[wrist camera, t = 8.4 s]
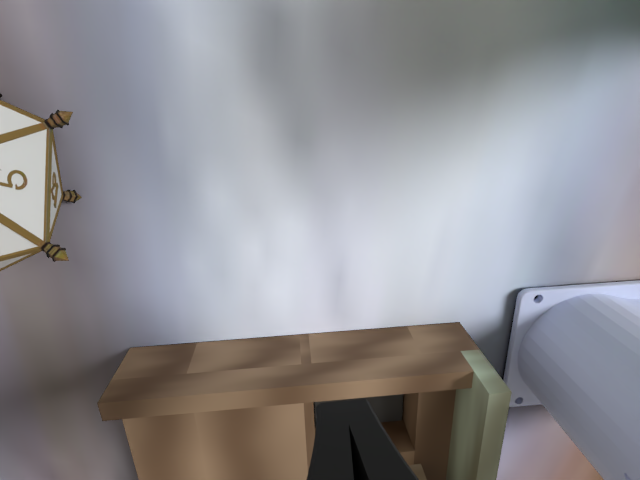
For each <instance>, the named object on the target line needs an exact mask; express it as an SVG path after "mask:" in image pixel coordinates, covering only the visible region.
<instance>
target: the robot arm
mask: <svg viewBox="0 0 640 480" xmlns="http://www.w3.org/2000/svg"><path fill="white" fill-rule="evenodd" d="M536 295H538V297H537V298H536V299H534V297H535V296H536ZM503 381H504V382H505V384H506V385H507V386H508V388H509V389H510V390H511V392H512V393H511V398H510V404H509V407H518V406H529V405H540V404H543V406H544V407H545V408H546V409H547V411H548V412H549V413H550V414H551V415H552V417H553V418H554V419H555V420H556V422H557V423H558V424H559V425H560V426H561V428H562V429H563V430H564V431H565V433H566V434H567V435H568V436H569V437H570V439H571V440H572V441H573V442H574V444H575V445H576V446H577V447H578V448H579V450H580V451H581V452H582V453H583V455H584V456H585V457H586V458H587V459H588V461H589V462H590V463H591V464H592V466H593V467H594V468H595V469H596V470H597V472H598V473H599V474H600V475H601V477H602V478H603V479H604V480H640V280H636V281H622V282H609V283H595V284H581V285H567V286H553V287H540V288H527V289H523V290H522V291H520V292H519V294H518V296H517V300H516V306H515V312H514V318H513V324H512V331H511V337H510V343H509V349H508V355H507V361H506V367H505V373H504V379H503ZM316 416H317V418H316V432H315V439H314V446H313V452H312V457H311V461H310V466H309V471H308V476H307V480H419V479H418V478H417V476H416V475H415V474H414V472H413V471H412V470H411V468H410V467H409V465H408V464H407V462H406V461H405V460H404V458H403V457H402V455H401V454H400V452H399V451H398V450H397V448H396V447H395V445H394V444H393V442H392V440H391V439H390V437H389V436H388V434H387V432H386V431H385V429H384V428H383V426H382V424H381V423H380V421H379V419H378V417H377V416H376V414H375V412H374V410H373V408H372V406H371V404H370V402H369V401H367V400H366V399H360V400H349V401H337V402H326V403H320V404H319V405H318V406H316Z"/></svg>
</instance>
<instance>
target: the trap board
mask: <svg viewBox="0 0 640 480" xmlns="http://www.w3.org/2000/svg"><path fill="white" fill-rule="evenodd" d="M511 393H512V392H511V390H510V389H509V388H508V386H507V385H506V384H505V382H504V381H503V380H502V378H501V377H500V376H499V374H498V373H497V372H496V370H495V369H494V368H493V366H492V365H491V364H490V362H489V361H488V360H487V358H486V357H485V356H484V354H483V353H482V352H481V350H480V349H479V348H478V346H477V345H476V344H475V342H474V341H473V340H472V338H471V337H470V336H469V334H468V333H467V332H466V330H465V329H464V328H463V326H462V325H461V324H460V322H456V323H443V324H430V325H417V326H404V327H392V328H379V329H366V330H353V331H340V332H327V333H314V334H301V335H288V336H275V337H263V338H250V339H237V340H224V341H211V342H198V343H185V344H172V345H159V346H146V347H134V348H130V349H129V351H128V352H127V354H126V356H125V357H124V359H123V361H122V362H121V364H120V366H119V368H118V369H117V371H116V373H115V374H114V376H113V378H112V379H111V381H110V383H109V384H108V386H107V388H106V390H105V391H104V393H103V395H102V396H101V398H100V400H99V401H98V403H97V404H98V407H99V411H100V414H101V417H102V421H108V420H119V419H122V421H123V425H124V428H125V432H126V435H127V439H128V443H129V446H130V450H131V454H132V457H133V461H134V464H135V468H136V472H137V475H138V479H139V480H307V476H308V471H309V466H310V461H311V457H312V452H313V446H314V439H315V432H316V424H314V404H313V402H315V422H316V418H317V416H316V406H318V405H319V404H320V403H326V402H337V401H349V400H360V399H366V400H367V401H369V402H370V404H371V406H372V408H373V410H374V412H375V414H376V416H377V417H378V419H379V421H380V423H381V424H382V426H383V428H384V429H385V431H386V432H387V434H388V436H389V437H390V439H391V440H392V442H393V444H394V445H395V447H396V448H397V450H398V451H399V452H400V454H401V455H402V457H403V458H404V460H405V461H406V462H407V464H408V465H415V464H421V465H422V468H423V471H424V474H425V476H426V479H427V480H496V477H497V472H498V466H499V460H500V455H501V449H502V444H503V438H504V432H505V427H506V421H507V415H508V410H509V404H510V398H511ZM402 404H403V410H402Z"/></svg>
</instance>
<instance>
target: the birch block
mask: <svg viewBox="0 0 640 480" xmlns="http://www.w3.org/2000/svg"><path fill="white" fill-rule="evenodd" d="M409 467H410V468H411V470H412V471H413V472H414V474H415V475H416V476H417V478H418V479H419V480H427V479H426V476H425V474H424V471H423V468H422V465H421V464H415V465H409Z"/></svg>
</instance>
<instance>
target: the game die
mask: <svg viewBox="0 0 640 480" xmlns="http://www.w3.org/2000/svg"><path fill="white" fill-rule="evenodd" d="M0 97H2V95H1V94H0ZM72 113H73V112H66V111H59V110H57V111H56V113H55V114H53V113H52V114H51V115H50V118H49V119H46V120H45V119H42V118H40V117H38V116H36V115H33V114H31V113H29V112H26V111H24V110H22V109H20V108H17V107H15V106H13V105H11V104H8V103H6V102H4V101H1V100H0V271H1V270H3V269H5V268H7V267H9V266H12V265H14V264H16V263H18V262H20V261H22V260H24V259H26V258H28V257H30V256H32V255H34V254H36V253H38V252H40V251H44V252H45V253H46V254H47V257H48V258H49V257H51V258H52V259H53V261H54V262H55V261H69V260H68V257H67V255H66V252H65V250H66V249H65V248H61V247H59V246H60V245H53V244H51V243H50V239H51V236H52V232H53V229H54V226H55V222H56V219H57V216H58V212H59V209H60V206H61V202H62V199H64V200H65V201H67V202H70V201H71V202H73V203H75V201H77V200H79V199H80V198H82V197H81V196H79V195H78V194H77V193H76V191H75V190H73V191H70V190H67V191H64V192H63V189H62V183H61V177H60V171H59V165H58V159H57V153H56V147H55V141H54V134H53V129H54V128H56V127H60V128H63V125H69V123H68V122H69V120H70V117H71V115H72Z"/></svg>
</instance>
